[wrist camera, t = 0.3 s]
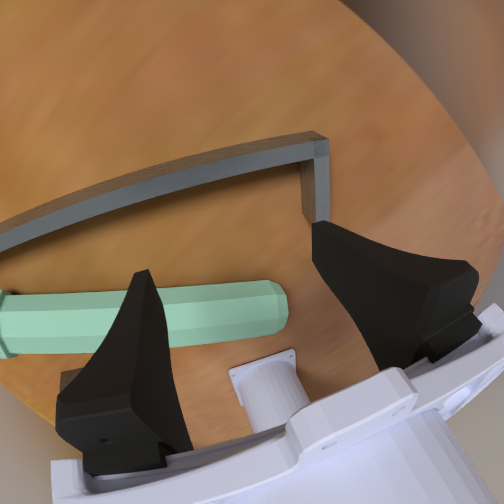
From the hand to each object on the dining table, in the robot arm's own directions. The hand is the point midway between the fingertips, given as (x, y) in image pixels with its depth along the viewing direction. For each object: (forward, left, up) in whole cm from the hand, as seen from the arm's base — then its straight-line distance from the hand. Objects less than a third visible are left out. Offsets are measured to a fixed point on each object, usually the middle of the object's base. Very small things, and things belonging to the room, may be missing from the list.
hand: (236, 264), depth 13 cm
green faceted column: (-9, +8, -10) cm, 16 cm away
